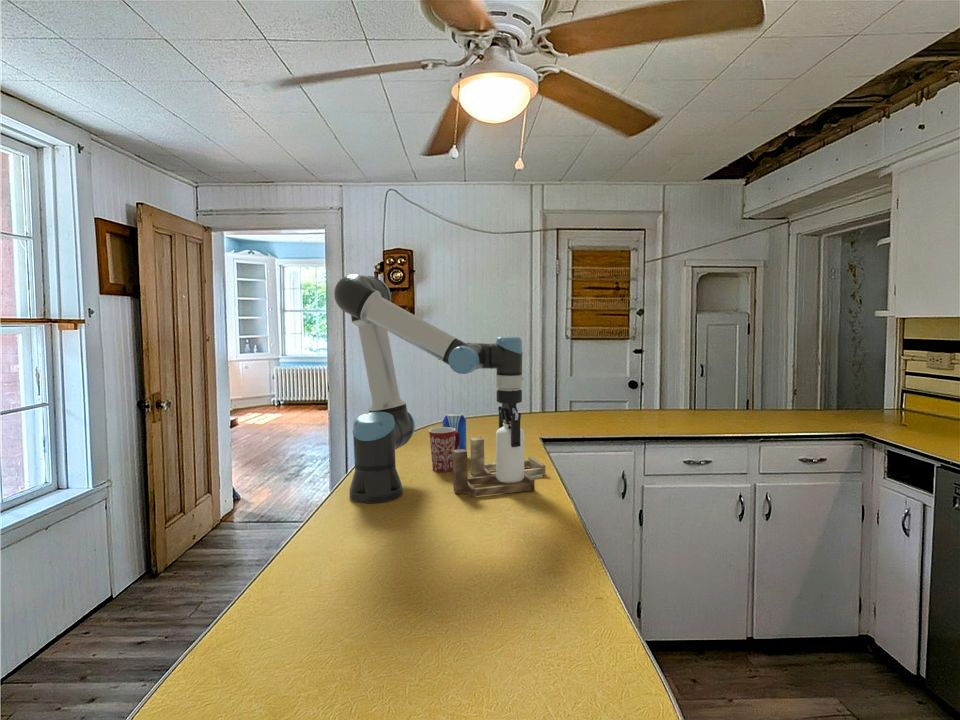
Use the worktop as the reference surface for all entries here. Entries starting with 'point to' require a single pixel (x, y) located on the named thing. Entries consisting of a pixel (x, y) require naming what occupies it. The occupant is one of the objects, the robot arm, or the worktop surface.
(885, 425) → the worktop surface
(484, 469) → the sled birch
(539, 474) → the lane divider
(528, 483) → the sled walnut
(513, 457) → the potion bottle
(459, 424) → the beer can
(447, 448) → the mug
